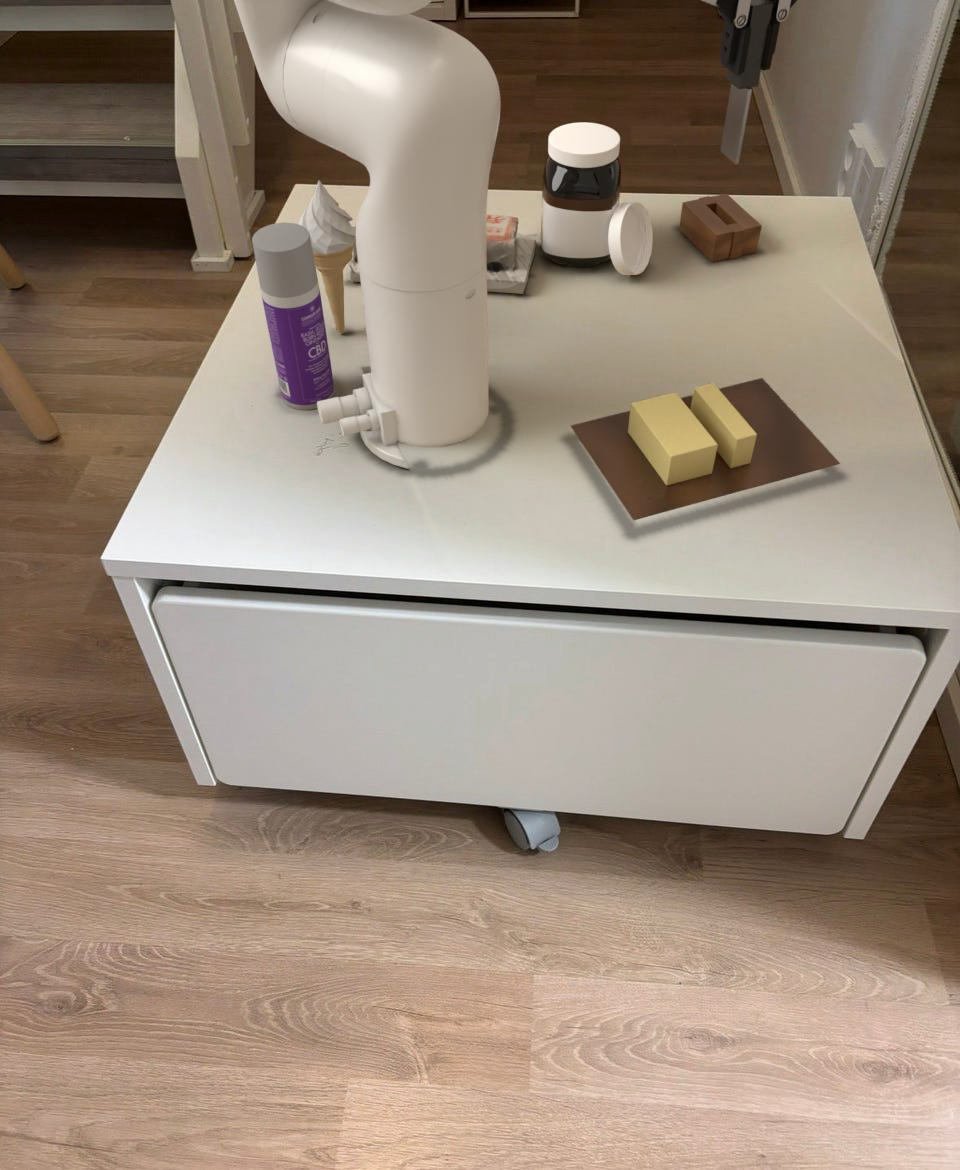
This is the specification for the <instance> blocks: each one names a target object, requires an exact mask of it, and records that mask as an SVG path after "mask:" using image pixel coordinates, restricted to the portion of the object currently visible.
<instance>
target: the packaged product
mask: <svg viewBox="0 0 960 1170" xmlns="http://www.w3.org/2000/svg"><path fill="white" fill-rule="evenodd" d="M518 225H519V218H518V217H516V216H511V215H499V214H488V213H487V219H486V245H487V292H492V293H493V292H494V293H508V294H521V295H523V294H524V292H525V289H526V287H527V283H528V280H529V275H530V270H531V267H532V264H533V260H534V257H535V254H536V245H537V235H538V234H537V233H528V234H524V233H519V232H518V228H519V226H518ZM354 227H356V225H355V226H354ZM352 255H353V257H352V260H351V261H350V262H349V265H348V268H347V274H346V275H347V277H348V280H349V282H357V283H361V280H360V272H359V265H358V258H357V249H356V244H355V245H354V247H353V252H352Z"/></svg>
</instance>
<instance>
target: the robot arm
mask: <svg viewBox="0 0 960 1170" xmlns="http://www.w3.org/2000/svg"><path fill="white" fill-rule="evenodd" d="M769 1H770V2H772V3H773V7H772V13H771V18H770V24H769V28H768V33H767V39H766V44H765V50H764V55H763V61H762V66H761V71H768V70H770V69H771V67H772V61H773V56H774V54H775V52H776V47H777V42H778V36H779V32H780V27H781V23H782V22H784V21H786V20H787V18H788V16H789V13H790V9H791V8H792V7H793V6H794V5H795V4H796V3H797V1H798V0H769ZM233 2H234V5H235V8H236V11H237V14H238V17H239V20H240V23H241V27H242V29H243V33H244V36H245V38H246V41H247V44H248V48H249V50H250V53H251V56H252V59H253V62H254V65H255V68H256V71H257V74H258V77H259V79H260V81H261V83H262V84H261V85H262V86H263V89H264V91H265V94H266V95H267V97H268V99H269V101H270V103H271V104H272V106H273V108H274V109H275V110H276V112H277V113H278V114H279V116H280V117H281V118H282V119H283V120H284V121H285V122H286V123H287V124H288V125H289V126H290V127H292V128H293V129H295V130H297V131H298V132H300V133H301V134H304V135H305V136H306V137H309V138H311V139H312V140H314V141H316V142H319V143H321V144H322V145H325V146H327V147H330V148H332V149H334V150H336V151H338V152H340V153H342V154H345V156H347V157H349V158H350V159H352V160H355V161H356V162H359V163H360V164H362V166H364V167H365V168H366V170H367V172H368V175H369V186H368V187H369V188H368V190H367V193H366V195H365V197H364V199H363V202H362V204H361V205H360V208H359V211H358V214H357V217H356V222H355V224H356V225H355V226H356V249H357V258H358V265H359V272H360V280H361V282H360V289H361V297H362V298H361V299H362V306H363V313H364V315H363V316H364V321H365V331H366V340H367V348H368V349H367V350H368V356H369V357H368V358H369V365H370V372H367V373H363V374H362V383H363V384H362V385H363V386H362V387H358V388H354V389H352V394H347V395H344V396H340V397H339V396H333V398H330V399H326V400H321V401H317V408H316V409H317V412H318V417H319V419H320V422H321V424H322V425H326V424H331V423H335V422H338V423H339V426H340V431H341V434H342V436H343V437H346V436H350V435H354V434H360V438H361V439H362V441H363V443H364V445H365V446H366V447H367V448H368V449H369V451H370V452H371V453H372V454H373V455H375V456H376V457H378V458H379V459H381V460H383V461H385V462H387V463H389V464H391V465H394V466H397V467H400V468H403V469H408V470H410V466H409V465H408V462H407V460H406V459H405V456H404V454H403V452H402V449H401V448H400V445H399V444H398V442H400V443H402V444H406V445H408V446H409V445H410V446H412V447H413V446H414V447H420V448H441V447H445V446H451V445H455V444H458V443H461V442H463V441H465V440H467V439H469V438H471V437H473V436H474V435H475V434H477V432H479V431H480V430H481V429H482V428H483V427H484V425H485V424H486V422H487V419H488V418H489V414H490V407H489V406H490V405H489V403H490V401H489V339H488V338H489V335H488V334H489V332H488V331H489V330H488V329H489V328H488V324H489V323H488V291H487V245H486V219H487V214H488V213H487V211H488V210H487V209H488V193H489V183H490V174H491V168H492V167H491V166H492V162H493V157H494V152H495V147H496V143H497V137H498V132H499V127H500V118H501V108H502V107H501V106H502V104H501V103H502V102H501V92H500V87H499V81H498V78H497V75H496V73H495V71H494V69H493V67H492V65H491V64H490V62H489V60H488V59H487V58H486V56H485V55H484V53H483V52H482V51H480V49H479V48H477V47H476V46H475V44H473V43H472V42H471V41H469V40H468V39H467V38H465V37H464V36H462V35H461V34H459V33H457V32H456V31H454V30H452V29H449V28H447V27H446V26H443V25H441V24H438V23H436V22H433V21H431V20H428V19H426V18H422V17H419V16H416V15H414V14H412V13H415V12H418V11H419V10H421V9H423V8H425V7H427V6H428V5H429V4H431V3H432V2H433V0H233ZM701 2H704V3H706V4H709V5H711V6H714V7H715V8H716V10H717V11H718V12H719V14H720V17H721V18H723V19H724V24H723V25H724V26H723V32H722V38H721V44H720V51H719V56H720V63H721V66H723V67H724V68H726V69H727V70H728V69H729V70H730V71H731V72H733V73H734V74H735V75H739V74H742V73H743V72H744V70H745V65H746V59H747V53H748V48H749V42H750V36H751V28H750V27H749V26H747V25H746V23H747V20H748V15H749V9H750V3H751V0H701Z"/></svg>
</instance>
